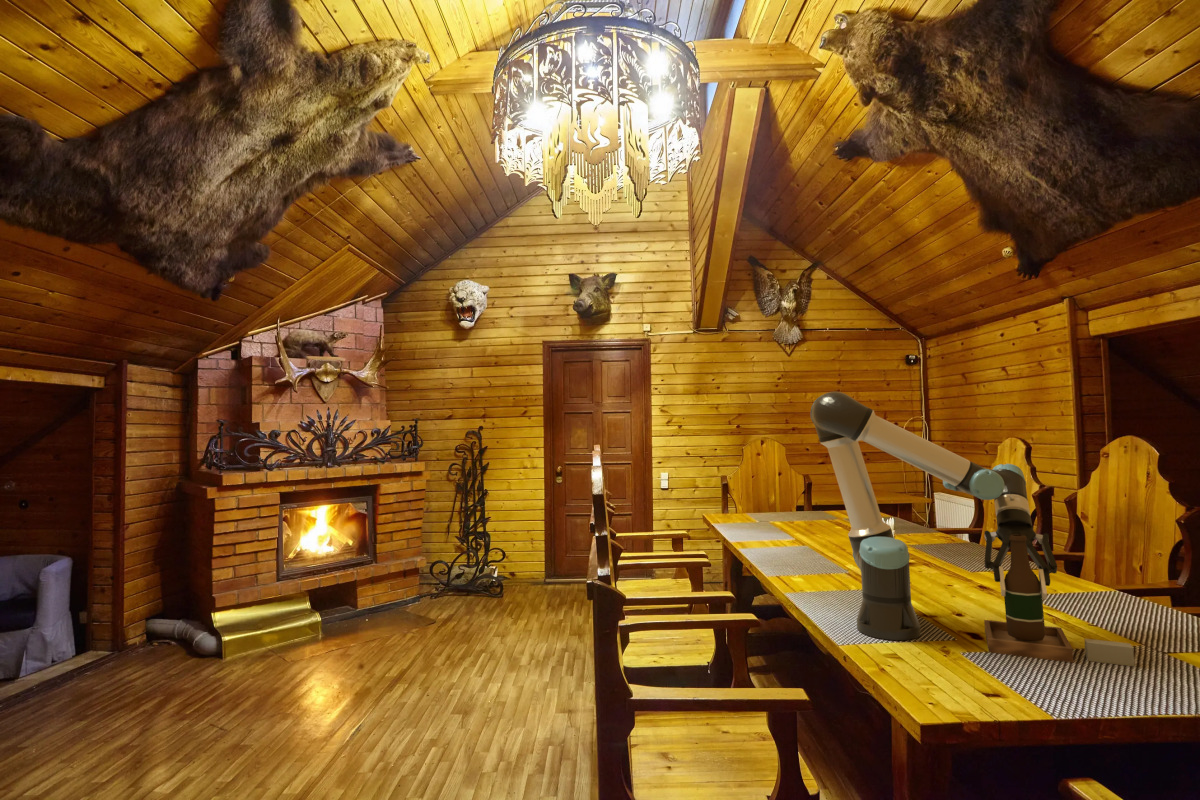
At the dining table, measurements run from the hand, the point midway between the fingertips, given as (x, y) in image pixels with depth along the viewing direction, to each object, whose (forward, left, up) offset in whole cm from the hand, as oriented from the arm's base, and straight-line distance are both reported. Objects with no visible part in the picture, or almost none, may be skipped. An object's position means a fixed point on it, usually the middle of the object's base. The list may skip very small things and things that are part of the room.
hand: (1023, 594), depth 146 cm
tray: (0, +3, -13) cm, 13 cm away
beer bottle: (0, +3, -11) cm, 11 cm away
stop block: (+15, -1, -13) cm, 20 cm away
